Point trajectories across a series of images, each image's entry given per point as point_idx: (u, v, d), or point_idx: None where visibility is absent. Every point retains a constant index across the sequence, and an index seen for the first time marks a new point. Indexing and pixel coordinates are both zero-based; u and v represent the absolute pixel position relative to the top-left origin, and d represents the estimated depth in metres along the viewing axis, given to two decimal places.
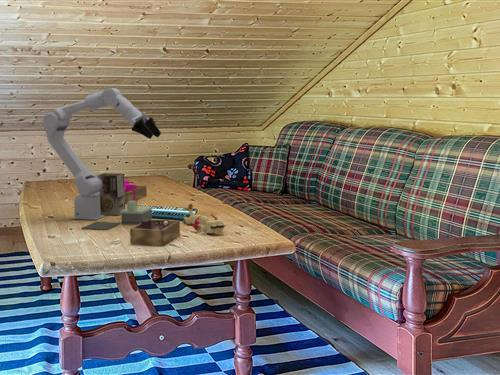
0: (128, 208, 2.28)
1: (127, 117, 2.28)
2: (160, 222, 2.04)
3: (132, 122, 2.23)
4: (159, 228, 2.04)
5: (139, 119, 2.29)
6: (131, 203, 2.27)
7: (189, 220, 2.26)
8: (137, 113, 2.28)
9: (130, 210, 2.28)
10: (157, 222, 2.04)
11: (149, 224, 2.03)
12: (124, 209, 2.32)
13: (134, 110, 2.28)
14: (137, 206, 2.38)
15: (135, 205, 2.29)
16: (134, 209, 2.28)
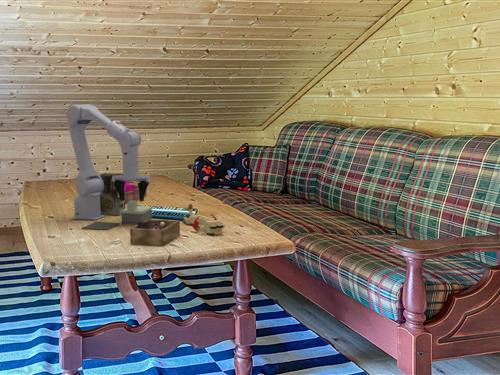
0: (128, 208, 2.28)
1: None
2: (157, 223, 2.02)
3: None
4: None
5: None
6: (131, 203, 2.27)
7: (189, 220, 2.26)
8: (124, 174, 2.25)
9: (130, 210, 2.28)
10: (153, 223, 2.02)
11: (146, 225, 2.02)
12: (124, 209, 2.32)
13: (124, 170, 2.25)
14: (137, 206, 2.38)
15: (135, 205, 2.29)
16: (134, 209, 2.28)
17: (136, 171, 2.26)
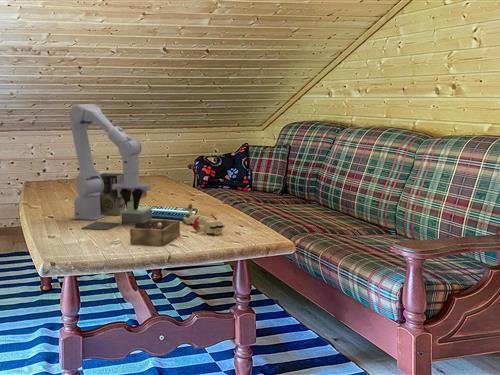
0: (128, 208, 2.28)
1: None
2: (154, 224, 2.01)
3: None
4: None
5: None
6: (131, 203, 2.27)
7: (189, 220, 2.26)
8: (124, 182, 2.26)
9: (130, 210, 2.28)
10: (151, 224, 2.01)
11: (143, 225, 2.01)
12: (124, 209, 2.32)
13: (124, 178, 2.26)
14: None
15: None
16: None
17: (136, 180, 2.26)
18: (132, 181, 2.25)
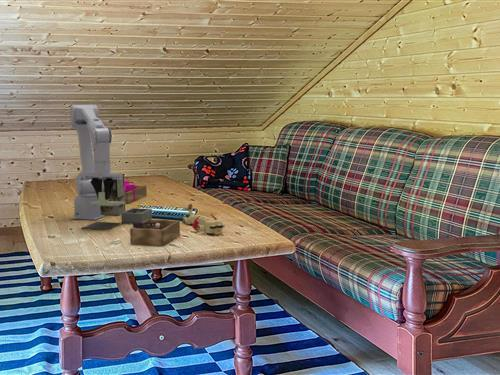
0: (99, 198, 2.20)
1: None
2: (152, 224, 2.01)
3: None
4: None
5: None
6: (103, 193, 2.20)
7: (189, 220, 2.26)
8: (95, 171, 2.18)
9: (101, 200, 2.20)
10: (149, 224, 2.01)
11: (141, 226, 2.01)
12: (95, 201, 2.24)
13: (95, 167, 2.18)
14: None
15: None
16: (105, 200, 2.21)
17: (107, 168, 2.18)
18: (103, 170, 2.17)
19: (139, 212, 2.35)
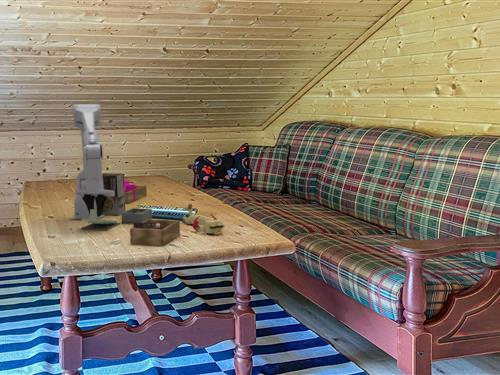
0: (91, 215, 2.18)
1: None
2: (152, 224, 2.00)
3: None
4: None
5: None
6: (94, 210, 2.18)
7: (189, 220, 2.26)
8: (87, 188, 2.17)
9: (93, 218, 2.18)
10: (149, 224, 2.00)
11: (141, 226, 2.00)
12: None
13: (86, 184, 2.17)
14: None
15: None
16: (97, 217, 2.19)
17: (99, 185, 2.17)
18: (95, 186, 2.16)
19: (139, 212, 2.35)
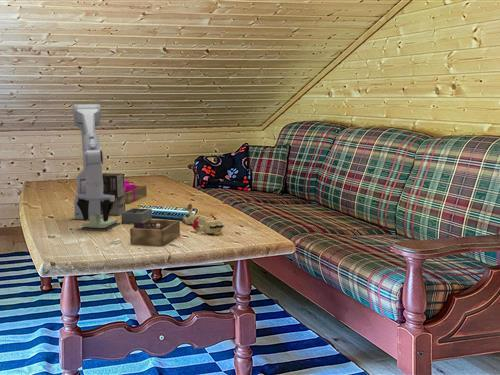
0: (90, 222, 2.18)
1: None
2: (152, 224, 2.00)
3: None
4: None
5: None
6: (93, 216, 2.18)
7: (188, 220, 2.27)
8: (87, 193, 2.17)
9: (92, 224, 2.18)
10: (149, 224, 2.00)
11: (141, 226, 2.00)
12: (87, 222, 2.23)
13: (87, 189, 2.17)
14: (101, 219, 2.29)
15: (98, 218, 2.20)
16: (97, 223, 2.19)
17: (100, 190, 2.17)
18: (95, 192, 2.16)
19: (139, 212, 2.35)
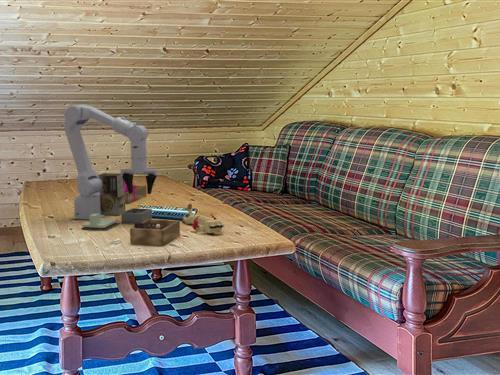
0: (90, 222, 2.18)
1: None
2: (152, 225, 1.99)
3: None
4: None
5: None
6: (93, 216, 2.18)
7: (188, 220, 2.27)
8: (132, 167, 2.30)
9: (92, 224, 2.18)
10: (149, 225, 2.00)
11: (142, 226, 2.00)
12: (87, 222, 2.23)
13: (132, 163, 2.30)
14: (101, 219, 2.29)
15: (98, 218, 2.20)
16: (97, 223, 2.19)
17: (144, 164, 2.30)
18: (140, 166, 2.30)
19: (139, 212, 2.35)
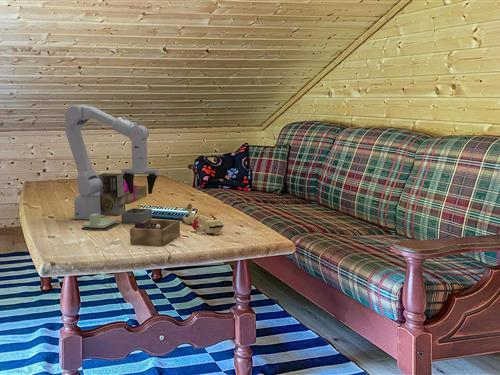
0: (90, 222, 2.18)
1: None
2: (153, 225, 1.99)
3: None
4: None
5: None
6: (93, 216, 2.18)
7: (188, 220, 2.27)
8: (133, 167, 2.31)
9: (92, 224, 2.18)
10: (150, 225, 1.99)
11: (142, 226, 2.00)
12: (87, 222, 2.23)
13: (133, 163, 2.30)
14: (101, 219, 2.29)
15: (98, 218, 2.20)
16: (97, 223, 2.19)
17: (145, 164, 2.31)
18: (141, 166, 2.30)
19: (139, 212, 2.35)
